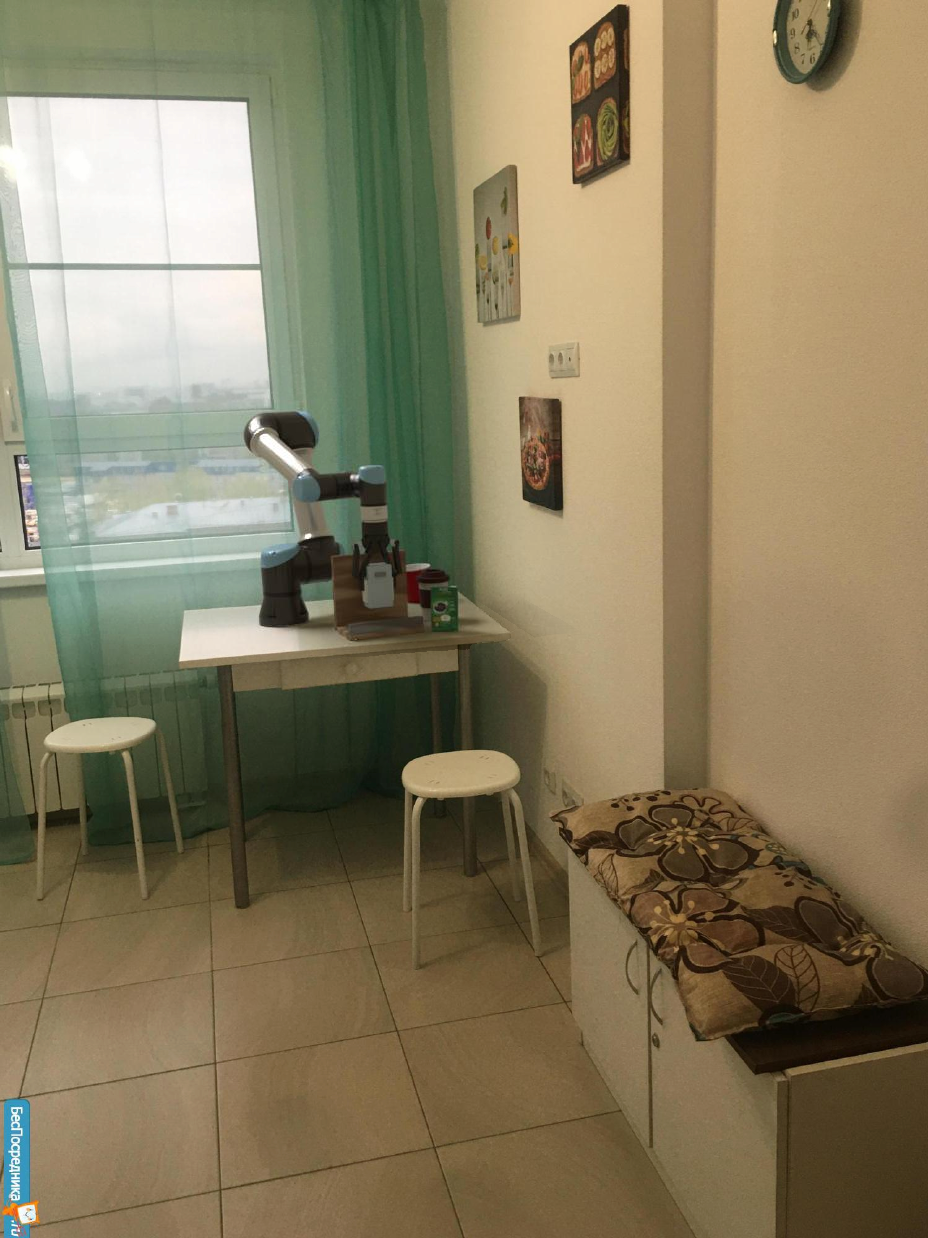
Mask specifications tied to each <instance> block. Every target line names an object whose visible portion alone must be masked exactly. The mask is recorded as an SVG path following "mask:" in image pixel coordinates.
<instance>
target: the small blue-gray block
mask: <svg viewBox="0 0 928 1238" xmlns="http://www.w3.org/2000/svg"><path fill="white" fill-rule="evenodd" d="M366 570H367V572H366V575H365V578H364V579H366V580H367V587H368V603H365V602H364V606H366V607H368V608H370V609H371V608H380V607H389V606H393V590H392V569H391V564H386V563H385V562H384V563H373V564H369V565H368V566H366Z"/></svg>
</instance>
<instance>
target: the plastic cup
mask: <svg viewBox="0 0 928 1238" xmlns="http://www.w3.org/2000/svg"><path fill="white" fill-rule="evenodd" d="M430 567H431V564H430V563H412V564H411V563H410V564H406V579H407V604H408V603H409V604H420V597H419V582H417V576H418V575H420V574H421V572H422V571H423V570H427V569H430Z"/></svg>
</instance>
